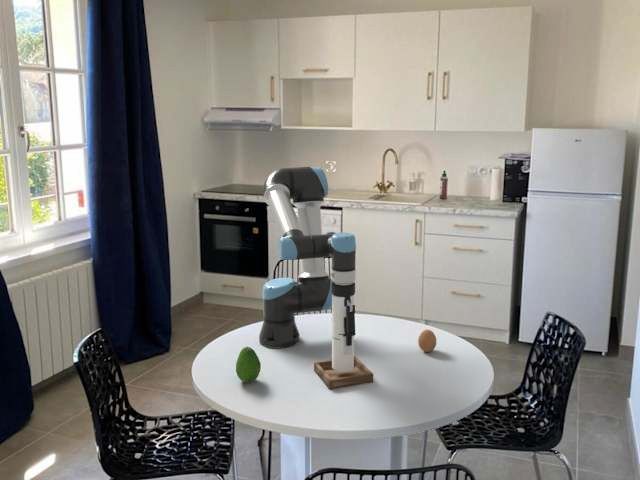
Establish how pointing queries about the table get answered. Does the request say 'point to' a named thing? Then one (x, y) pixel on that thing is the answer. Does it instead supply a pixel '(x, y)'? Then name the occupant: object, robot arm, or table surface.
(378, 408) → the table surface
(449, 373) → the table surface
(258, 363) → the avocado
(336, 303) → the cylindrical container
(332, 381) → the tray
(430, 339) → the egg
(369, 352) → the table surface
